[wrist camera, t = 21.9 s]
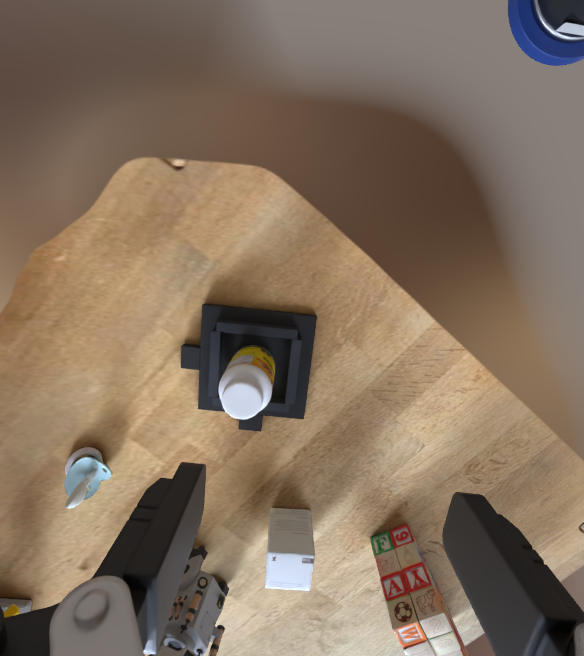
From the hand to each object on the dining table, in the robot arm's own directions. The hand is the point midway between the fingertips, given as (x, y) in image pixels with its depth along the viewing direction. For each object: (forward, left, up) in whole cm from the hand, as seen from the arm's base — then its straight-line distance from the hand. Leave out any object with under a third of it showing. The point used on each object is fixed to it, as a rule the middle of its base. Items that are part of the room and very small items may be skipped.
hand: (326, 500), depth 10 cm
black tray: (+8, -6, -31) cm, 32 cm away
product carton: (+32, +2, -31) cm, 45 cm away
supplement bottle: (+7, -5, -30) cm, 31 cm away
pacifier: (+25, -27, -31) cm, 48 cm away
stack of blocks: (+41, +22, -31) cm, 56 cm away
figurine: (+43, -12, -31) cm, 54 cm away
